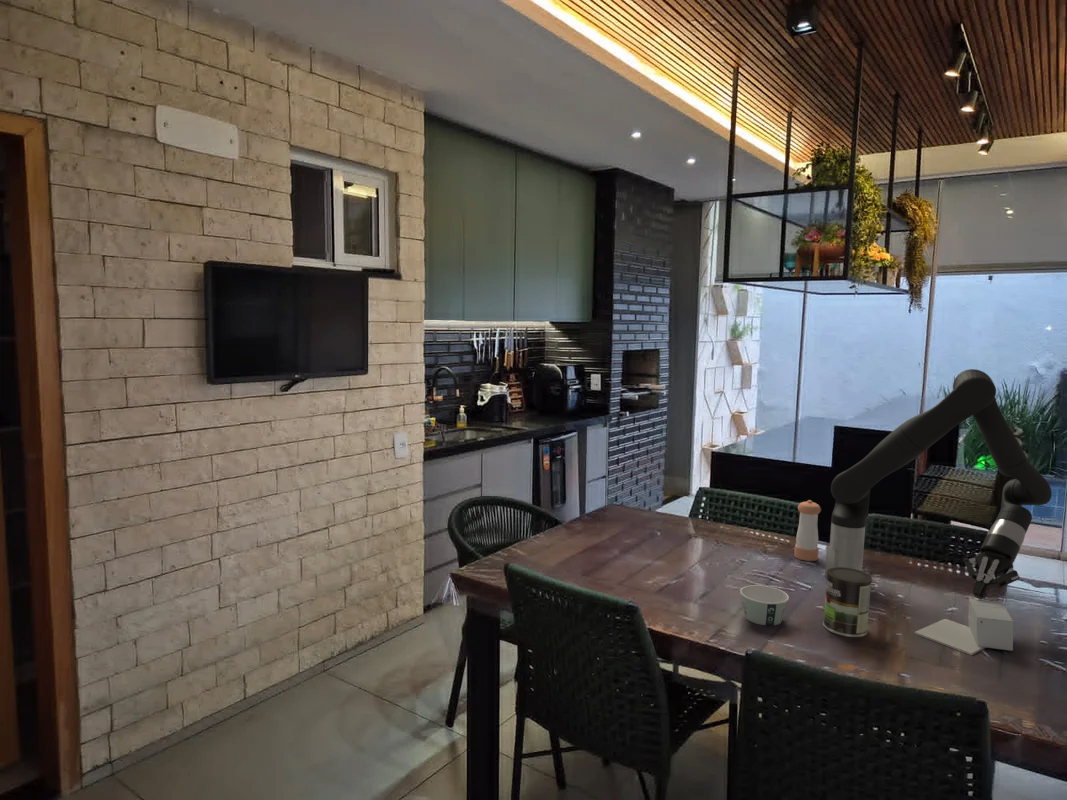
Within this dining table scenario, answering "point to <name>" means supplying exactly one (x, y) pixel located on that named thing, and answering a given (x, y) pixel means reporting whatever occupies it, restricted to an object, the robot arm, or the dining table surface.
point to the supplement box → (991, 624)
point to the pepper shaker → (807, 532)
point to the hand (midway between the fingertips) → (977, 596)
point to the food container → (763, 604)
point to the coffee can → (847, 601)
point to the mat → (951, 636)
